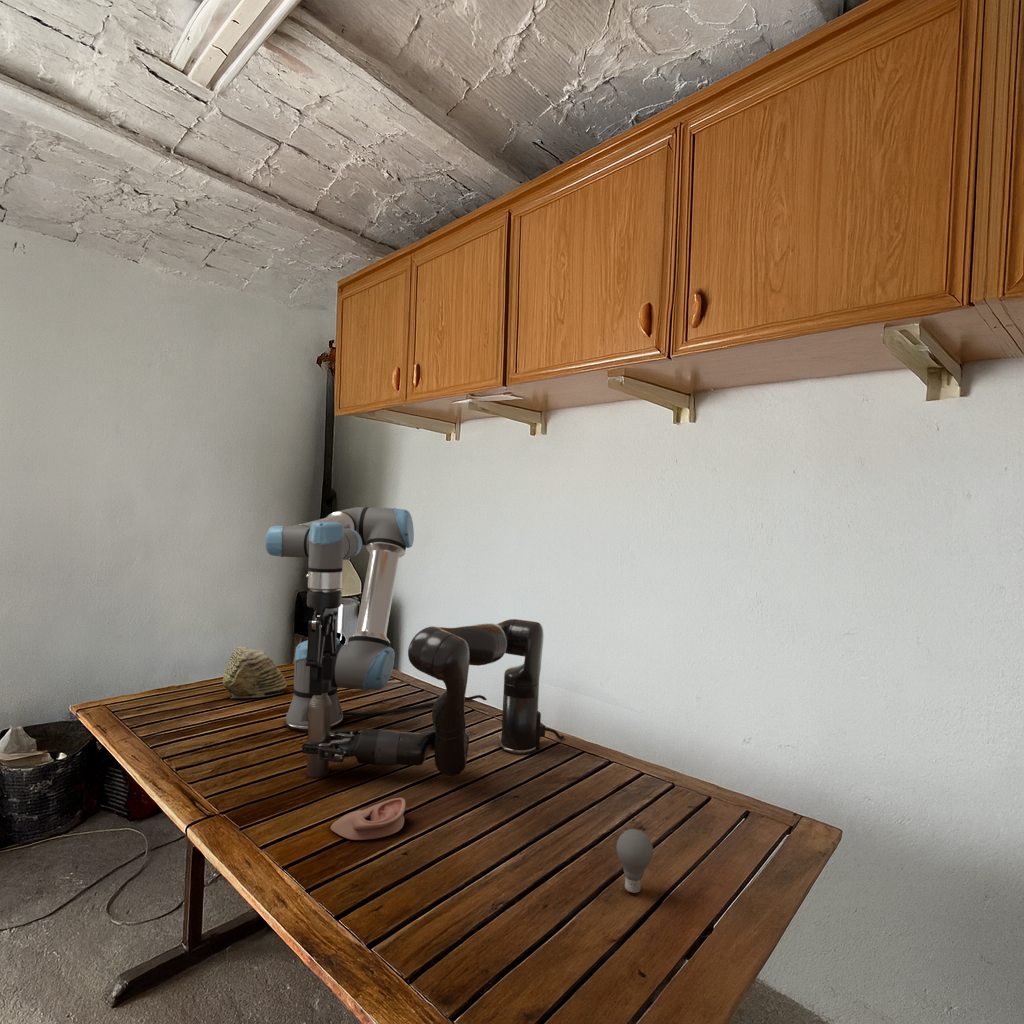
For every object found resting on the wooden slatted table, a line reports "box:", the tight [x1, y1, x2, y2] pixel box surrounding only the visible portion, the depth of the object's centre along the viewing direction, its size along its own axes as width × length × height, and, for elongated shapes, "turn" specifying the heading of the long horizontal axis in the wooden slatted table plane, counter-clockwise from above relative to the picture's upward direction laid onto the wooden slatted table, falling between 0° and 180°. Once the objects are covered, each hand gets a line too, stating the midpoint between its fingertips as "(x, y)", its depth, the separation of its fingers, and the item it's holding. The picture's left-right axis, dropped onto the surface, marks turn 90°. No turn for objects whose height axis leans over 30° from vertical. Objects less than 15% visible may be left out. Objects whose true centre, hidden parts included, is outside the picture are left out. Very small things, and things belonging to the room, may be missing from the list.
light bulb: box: [615, 828, 654, 894], centre depth 106 cm, size 6×6×10 cm
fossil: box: [222, 646, 288, 699], centre depth 198 cm, size 9×18×15 cm, turn 132°
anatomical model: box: [330, 797, 407, 841], centre depth 123 cm, size 13×4×12 cm
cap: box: [322, 678, 331, 694], centre depth 145 cm, size 4×4×2 cm
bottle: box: [306, 693, 331, 778], centre depth 145 cm, size 5×5×21 cm
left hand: (320, 689), depth 145 cm, fingers open, 6 cm apart
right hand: (307, 743), depth 145 cm, fingers closed on bottle, 5 cm apart
